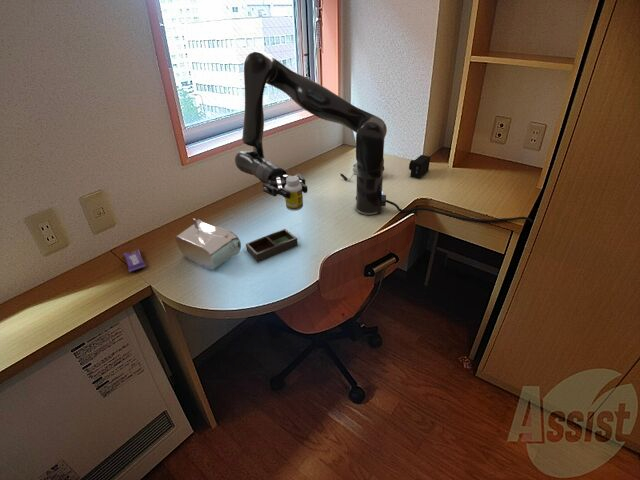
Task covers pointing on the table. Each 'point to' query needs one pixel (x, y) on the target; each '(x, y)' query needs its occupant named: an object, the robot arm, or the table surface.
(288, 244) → the divided box
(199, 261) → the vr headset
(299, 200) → the supplement bottle
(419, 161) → the digital camera
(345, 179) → the clip-on lamp
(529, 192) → the table surface
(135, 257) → the snack package
